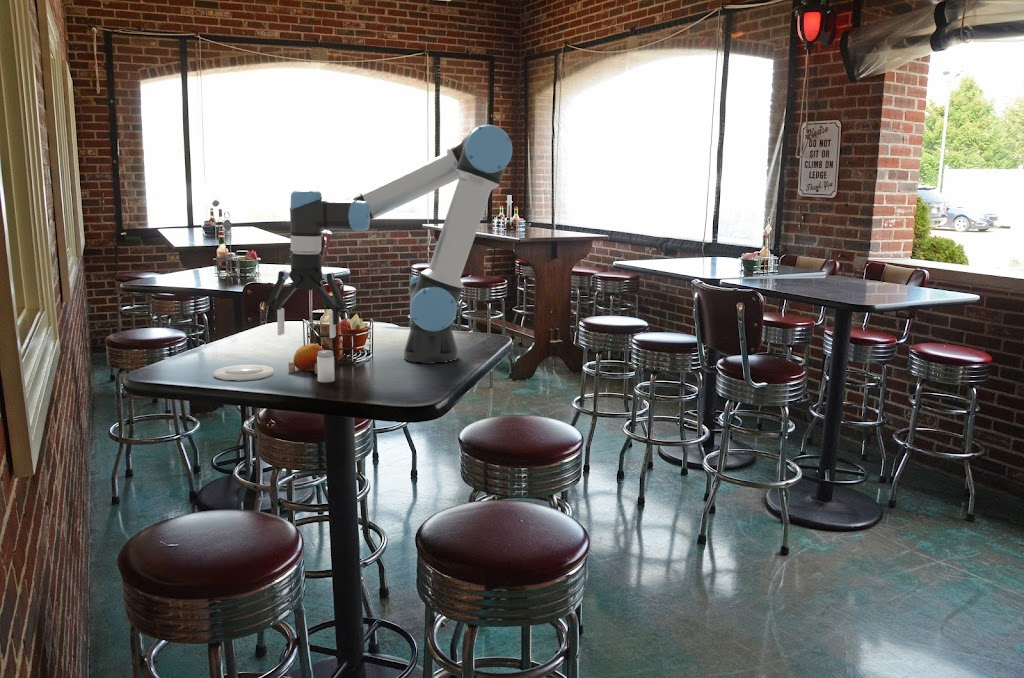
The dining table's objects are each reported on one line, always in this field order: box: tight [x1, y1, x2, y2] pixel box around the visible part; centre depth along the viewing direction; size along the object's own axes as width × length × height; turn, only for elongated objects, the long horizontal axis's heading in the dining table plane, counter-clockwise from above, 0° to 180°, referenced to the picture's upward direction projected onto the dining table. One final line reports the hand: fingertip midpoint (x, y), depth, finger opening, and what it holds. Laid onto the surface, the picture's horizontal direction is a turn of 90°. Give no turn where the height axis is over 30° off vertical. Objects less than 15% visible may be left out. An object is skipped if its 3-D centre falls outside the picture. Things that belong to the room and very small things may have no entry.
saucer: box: [214, 364, 274, 382], centre depth 203 cm, size 14×14×1 cm
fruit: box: [292, 343, 324, 373], centre depth 209 cm, size 8×8×8 cm
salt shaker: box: [317, 349, 335, 383], centre depth 197 cm, size 4×4×7 cm
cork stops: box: [288, 361, 318, 375], centre depth 209 cm, size 8×8×2 cm
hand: (306, 335), depth 208 cm, fingers open, 13 cm apart
